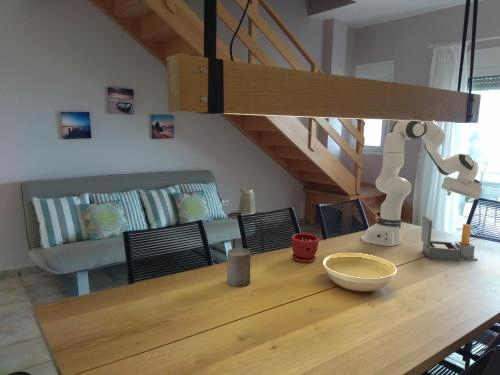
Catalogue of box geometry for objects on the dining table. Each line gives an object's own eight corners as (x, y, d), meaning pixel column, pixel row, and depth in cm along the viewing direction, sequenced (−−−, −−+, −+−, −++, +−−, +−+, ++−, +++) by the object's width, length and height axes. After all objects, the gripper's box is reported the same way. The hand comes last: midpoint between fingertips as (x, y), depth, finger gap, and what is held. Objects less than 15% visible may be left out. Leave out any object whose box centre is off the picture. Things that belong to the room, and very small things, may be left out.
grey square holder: (456, 258, 197) (457, 245, 196) (450, 252, 207) (451, 240, 206) (477, 260, 195) (478, 247, 194) (470, 254, 205) (471, 241, 204)
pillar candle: (252, 279, 165) (253, 246, 163) (246, 288, 156) (247, 253, 153) (231, 277, 167) (231, 243, 165) (223, 285, 158) (224, 250, 156)
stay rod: (461, 255, 199) (464, 225, 197) (458, 253, 203) (462, 224, 200) (468, 256, 199) (472, 226, 196) (466, 254, 202) (469, 224, 200)
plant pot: (289, 263, 186) (290, 239, 185) (292, 254, 199) (293, 232, 197) (316, 265, 183) (317, 241, 182) (318, 257, 196) (319, 234, 194)
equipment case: (426, 258, 196) (429, 220, 193) (420, 250, 210) (423, 214, 207) (458, 261, 193) (462, 222, 190) (450, 252, 207) (453, 216, 204)
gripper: (446, 172, 225) (439, 187, 218) (485, 183, 216) (478, 200, 209) (444, 179, 230) (436, 195, 223) (481, 191, 220) (475, 207, 213)
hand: (457, 197), depth 216 cm, fingers open, 8 cm apart
